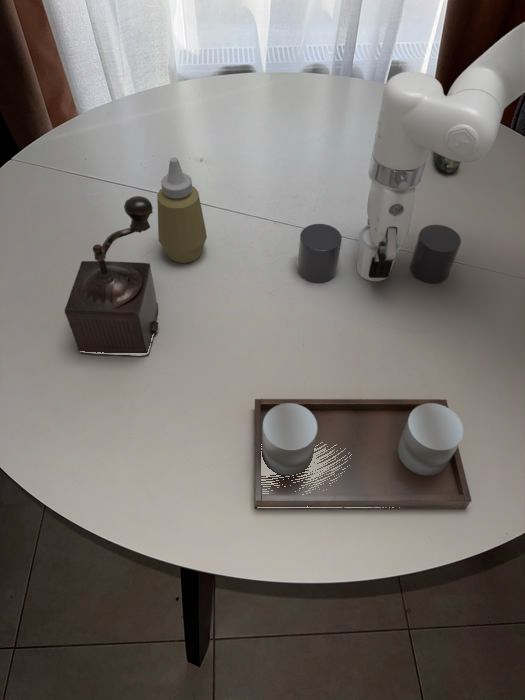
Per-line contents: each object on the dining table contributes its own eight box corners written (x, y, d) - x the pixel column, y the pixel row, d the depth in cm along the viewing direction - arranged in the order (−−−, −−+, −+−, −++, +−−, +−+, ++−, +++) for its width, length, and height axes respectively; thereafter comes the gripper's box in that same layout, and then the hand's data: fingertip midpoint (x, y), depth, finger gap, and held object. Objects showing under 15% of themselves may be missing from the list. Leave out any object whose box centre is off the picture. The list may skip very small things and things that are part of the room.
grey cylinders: (444, 256, 100) (456, 224, 94) (453, 283, 96) (465, 251, 90) (296, 255, 99) (299, 223, 94) (298, 283, 95) (301, 250, 90)
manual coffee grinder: (153, 358, 85) (134, 267, 71) (78, 354, 85) (44, 263, 71) (168, 283, 95) (154, 190, 81) (100, 280, 95) (75, 187, 81)
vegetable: (431, 138, 123) (437, 116, 119) (456, 141, 123) (463, 119, 119) (432, 176, 114) (438, 154, 111) (458, 179, 114) (466, 157, 110)
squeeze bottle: (210, 237, 102) (204, 145, 88) (205, 269, 97) (198, 177, 83) (164, 235, 102) (150, 143, 88) (157, 267, 97) (142, 174, 83)
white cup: (374, 250, 100) (381, 218, 95) (402, 272, 97) (411, 240, 92) (344, 266, 98) (349, 233, 92) (372, 289, 94) (379, 257, 89)
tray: (442, 408, 80) (457, 377, 74) (466, 508, 71) (485, 481, 65) (254, 408, 80) (255, 376, 74) (254, 509, 71) (255, 481, 65)
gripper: (434, 205, 77) (406, 298, 91) (412, 133, 87) (389, 226, 101) (378, 204, 76) (358, 298, 90) (362, 133, 87) (347, 226, 101)
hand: (375, 260), depth 96 cm, fingers closed on white cup, 6 cm apart
